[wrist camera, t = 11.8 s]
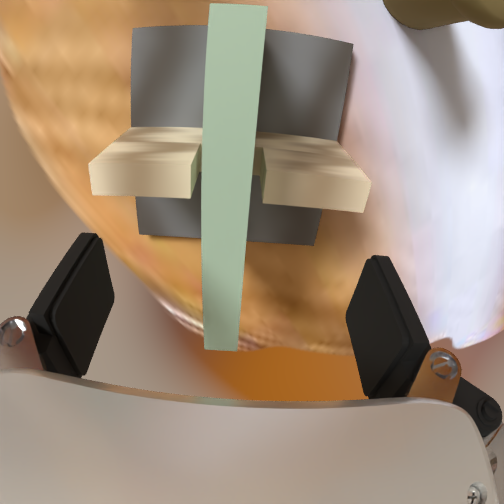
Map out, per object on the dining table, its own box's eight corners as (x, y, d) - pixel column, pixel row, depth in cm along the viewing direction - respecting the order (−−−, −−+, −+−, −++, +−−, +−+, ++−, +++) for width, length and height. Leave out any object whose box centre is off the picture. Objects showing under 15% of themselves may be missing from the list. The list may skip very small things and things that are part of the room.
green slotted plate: (228, 26, 18) (209, 3, 8) (257, 28, 18) (267, 6, 9) (217, 239, 29) (204, 349, 19) (239, 240, 29) (237, 351, 19)
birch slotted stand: (348, 43, 20) (400, 46, 12) (311, 238, 30) (331, 308, 23) (137, 28, 19) (83, 24, 11) (142, 227, 29) (112, 294, 22)
